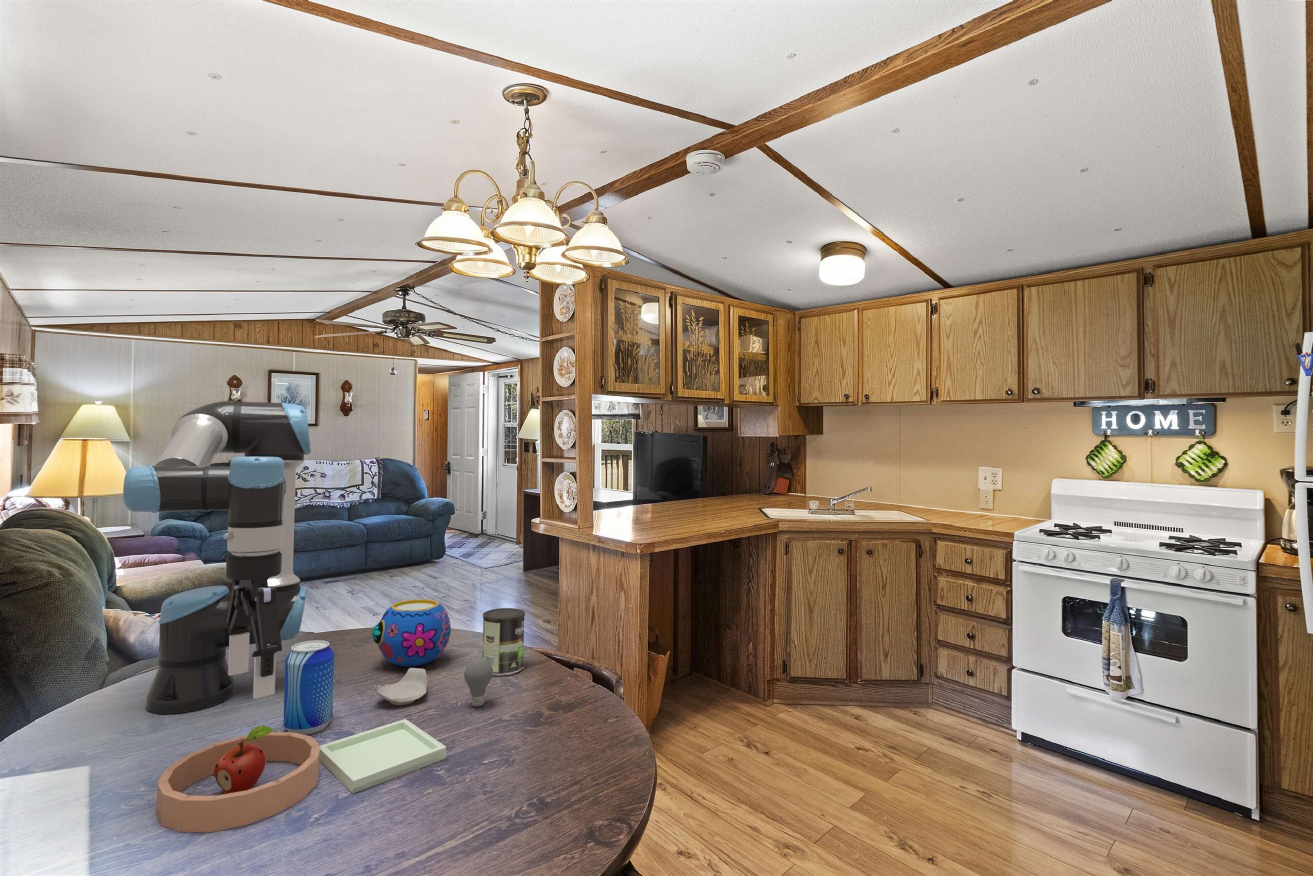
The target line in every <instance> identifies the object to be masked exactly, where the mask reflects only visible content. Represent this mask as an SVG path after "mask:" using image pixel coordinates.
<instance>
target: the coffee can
mask: <svg viewBox="0 0 1313 876" xmlns="http://www.w3.org/2000/svg"><path fill="white" fill-rule="evenodd" d="M525 615H526V612H525V610H523V609H519V608H515V607H513V608H512V607H502V608H492V609H489V610H486V611H484V612H483V613H482V619H483V620H482V622H483V623H482V655H481V656H482V657H481V658H483V659H486V660H487V661H489V662H490V664H491V665H492V668H493V674H505V673H511V672H514V671H517V670H519V669H521V668H522V667H523V668H524V648H525V647H524V643H525V640H524V639H525Z"/></svg>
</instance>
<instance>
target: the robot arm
mask: <svg viewBox="0 0 1313 876" xmlns="http://www.w3.org/2000/svg"><path fill="white" fill-rule="evenodd" d="M309 431H310V430H309V422H308V416H307V411H306V409H305V407H304V406H302V405H299V404H294V403H287V402H286V403H285V402H265V401H264V402H263V401H261V402H260V401H259V402H258V401H238V400H237V401H236V400H223V401H216V402H215V401H214V402H211V403H207V404H204V405H202V406H199V407H196V408H194V409H191V410H190V411H188V412H186V413H184V414H183V415H182V416H180V417H179V419H178V420H177V421H176V422H175V423H174V425H173V427H172V429H171V434H170V436H171V440H170V441H169V443H168V445H167V446H166V447H165V448H164V451H163V452H162V454H161V455H160V456H159V458H158V460H157V461H156V463H155V464H154V465H151V464H146V465H143V466H142V465H141V466H139V465H137V466H131V467H130V468H128V470H127V471H126V473H125V476H124V480H123V488H122V495H123V496H122V497H123V503H124V506H125V508H126V509H127V510H128V511H131V512H136V513H139V512H140V513H142V512H143V513H153V514H156V513H171V512H172V513H173V512H202V511H228V519H227V520H228V522H227V533H224V534H223V537H222V538H223V539H224V540H226V541H227V546H226V548H227V549H226V550H227V551H228V552H229V553H230V554H228V555H227V556H226V560H225V562H226V563H225V576H226V578H227V579H229V580H231V581H232V587H231V592H230V590H229V588H228V586H226V585H211V586H205V587H199V588H194V589H189V590H186V591H185V590H184V591H183V592H178V593H176V594H173V595H171V596H169V597H168V598H166V599H165V600H164V601H163V602H162V604H161V607H160V613H159V614H160V616H159V617H160V618H159V620H158V624H159V643H158V644H159V645H158V668H157V671H156V674H155V676H154V678H153V681H152V683H151V685H150V688H149V690H148V693H147V695H146V705H145V708H146V710H147V711H148V712H151V713H154V714H167V715H169V714H181V713H187V712H193V711H198V710H202V709H206V708H210V707H212V706H216V705H218V704H220V703H222V702H224V701H226V700H227V701H228V699H230V698H231V697H232V696H233V695H234V693H235V679H234V677H233V676H234V675H235V676H236V675H240V674H243V673H247V672H249V659H250V645H255V647H256V648H255V649H256V650H254V651H253V652H252V654H251V657H252V658H254V660H253V686H252V687H253V688H252V690H253V691H252V696H253V697H252V698H253V699H254V700H257V699H260V698H265V697H269V696H274V695H275V694H276V690H275V689H276V667H277V666H276V664H277V663H276V661H277V653H279V652H282V650H283V645H282V641H288V640H289V641H290V640H293V639H295V638H296V637H297V636H298V635H299V633H300V632H301V631H300V630H301V625H302V621H303V615H304V609H305V603H306V598H307V589H308V588H307V587H306V586H304V585H301V579H300V578H299V576H297V575H296V574H294V572H293V571H294V546H295V545H294V542H295V541H294V540H295V539H294V538H295V509H296V506H295V505H296V481H297V480H296V477H297V476H296V475H297V469H298V468H299V467H300V466H301V465H302V464H303V463H304V462H305V461H304V460H305V455H306V456H307V455H310V454H311V453H312V449H311V441H310V433H309ZM220 453H221V454H222V453H223V454H224V453H225V454H244V455H243V456H235V457H233V458H232V459H231V461H230V462H229V463H230V464H229V466H225V465H224V466H212V465H211V464H212V463H213V459H214V458H215V456H216V455H218V454H220ZM227 648H228V661H227V659H226V657H227V655H226V653H227Z"/></svg>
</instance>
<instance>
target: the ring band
mask: <svg viewBox="0 0 1313 876" xmlns="http://www.w3.org/2000/svg"><path fill="white" fill-rule="evenodd" d="M247 736H248V734H247V735H242V736H237V737H234V738H230V739H226V740H223V741H219V742H216V743H212V744H210V745H207V746H205V747H202V748H200V749H198V750H196V751H193V752H192V753H188V754H187V755H185V756H183V757H182V758H180V759H178V760H177V761H176V762H175V763H172V765H170V766H168V767H167V768H165V770H164V772H163V773H162V775H161V776H160V778H159V779H158V781H157V782H156V804H155V805H156V806H155V807H156V808H155V810H156V812H155V813H156V815H157V818H158V820H159V823H160V825H161V826H162V827H165V828H168V829H170V830H173V831H175V832H176V831H177V832H179V833H214V832H220V831H223V830H224V831H225V830H229V829H234V828H239V827H244V826H248V825H251V824H254V823H257V822H259V821H262V820H264V819H267V818H270V817H272V816H275V815H278V814H280V813H282V812H283V811H285V810H287V809H288V808H290V807H292V806H293V805H296V804H297V803H298V802H300V801H302V800H303V799H305V798H306V796H307V795H309V793H310V792H311V791H312V790H313V789H314V788H315V787H316V786H317V785H318V780H319V775H320V762H321V761H320V746H321V744H320V743H319V742H317V741H316V740H315V739H314V738H313V737H312V735H311V736H310V735H308V734H306V735H302V734H298V733H294V732H288V731H281V732H279V731H277V732H276V731H275V732H274V731H272V732H271V733H270V734H267V735H264V736H260V738H257V739H254V740H249V741H245V740H246V738H247ZM240 740H242V741H243V742H244V741H245V742H244V744H243V745H246V744H254V745H257V746H259V747H260V748H261V749H262V750H263V752H264V755H265V762H289V763H292V764H297V765H300V766H298V768H296V769H295V770H292V771H290V772H289V773H287V774H284V775H283V776H281V777H280V778H278V779H276V780H273V781H270V782H267V783H264V784H261V785H259V786H256V787H253V788H252V789H249V790H246V791H240V792H235V793H229V794H226V793H224V794H219V795H188V794H186V793H183V792H184V791H185V790H186V789H187V788H188V787H190V786H191V785H193V784H195V783H197V782H199V781H201V780H204V779H205V778H207V777H209V776H211V775H214V768H215V765H216V763H217V762H218V761H219V759H220V758H221V757H222V756H223V755H224V754H226V753H227V752H228V751H229V750H231V749H233V748H235V747H237V746H239V745H238V742H239V741H240Z"/></svg>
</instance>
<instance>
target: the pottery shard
mask: <svg viewBox="0 0 1313 876" xmlns="http://www.w3.org/2000/svg"><path fill="white" fill-rule="evenodd" d="M427 676H428V675H427V672H426V669H424V668H416V667H409V668H408V669H407V672H406V673H405V674H404V676H403V677H402V678H401V679H400V680H399V681H397V682H396V683H391V684H387V683H385V684H384V685H379V684H378V685H375V684H374V685H373V687H374V688H375V692H376V693H377V694H378V695H379V697H381V698H382V699H383V700H386V701H388V702H390V704H391V705H395V706H405V705H408V704H409V705H410V704H412V703H414V702H415V700H419V699H421V698H422V697H423V696H424V695H426V693H427V685H428V678H429V677H427Z"/></svg>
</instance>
